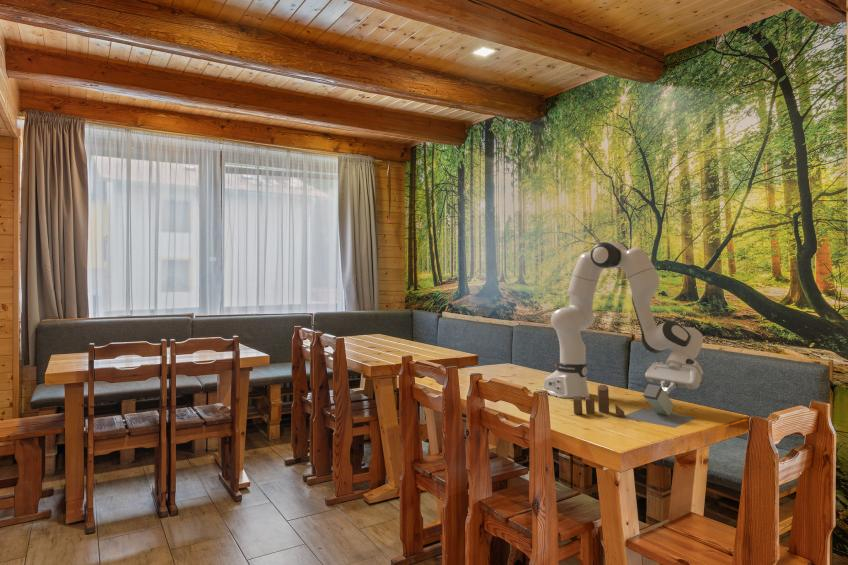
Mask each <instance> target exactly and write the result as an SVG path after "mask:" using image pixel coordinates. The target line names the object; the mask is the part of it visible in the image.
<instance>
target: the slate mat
mask: <svg viewBox="0 0 848 565" xmlns="http://www.w3.org/2000/svg"><path fill="white" fill-rule="evenodd" d="M619 418H624V419H629V420H633V421H639V422H644V423H650V424H654V425H659V426H664V427H668V428H678V427H680V426H681V425H684V424H686V423H688V422H691V421H693V420H696V419H697V418H698V417H697V416H696V417H695V416H692V415H691V416H690V415H684V414H680V413H679V414H678V413H673V412H671V413H670V415H669V416H665V415H661V414H657V413H656V412H655V411H654V409H653V408H646V407H644V408H640V409H638V410H634V411H632V412H630V413H626V414H625V416H619Z"/></svg>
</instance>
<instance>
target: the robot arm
mask: <svg viewBox="0 0 848 565" xmlns="http://www.w3.org/2000/svg"><path fill="white" fill-rule="evenodd" d="M605 269H622V271H623V272H624V274H625V276H626V278H627V280H628V283H629V286H630V290H631V301H632V306H633V309H634V312H635V316H636V319H637V322H638V325H639V326H638V327H639V328H640V332H641V342H642V344H643V347H644V348H645V349H646V350H647V351H648V352H650V353H652V354H660V353H663V352H664V351H666V350H667V349H669V350H670V353H669V355H668V358H666V361H659V360H658V361H655V362H652V364H650V366H649V368H648V369H647V370H646V372H645V374H644V377H645V379H646V380H647V381H648V382H649V383H655V384H660V386H661V387H662V389H663V390H664V392H665V393H666V394H667V395H670V393H671V391H674V390H675V389H676V388H683V389H689V390H696V389H698V388H699V386H700V384H701V381H702V376H703V374H704V371H703V369H702V367H701V365H700V363H699V362H698V361H697V360H695V358H697V356H699V353H700V351H701V349H702V345H703V342H704V335H703V334H702V333H701V331H700V330H698V329H697V328H695V327H691V326H683V325H682V324H680V323H679V322H678V321H675V320H667V321H665V322H663V323H661V324H658V325H656V321H655V318H654V316H653V313H652V309H651V302H652V300H653V298H654V296H655V294H656V293H657V291H658V289H659V286H660V278H659V275H658V273H657V270H656V268H655V266H654V265H653V262H652V260H651V259H650V258H649V256H648V255H647V253H646V252H645V250H644V249H642V248H640V247H633V248H629V247H628V246H627V245H626V244H624V243H621V242H616V241H604V242H599V243H596V244H595V245H594V246H593V247H592V249H591V251H586V252H583V253H581V254H580V256H579V257H578V259H577V262H575V266H574V269H573V271H572V275H571V279H570V281H569V286H568V289H567V291H568V295H569V305H568V306H566V307H563V306H562V307H561V308H558V309H556V310H554V312H552V314H551V316H550V324H551V326H552V328H553V329H554V330H555V332H556V334H557V339H558V343H559V362H557V363H555V364H554V367H556V369H555V371H553V372H552V373H551V374H549V375H548V376H546V377H545V378H544V381H543V387H540V388H538V390H547V391H548V392H549V394H550V395H549V396H552V397H556V396H557V398H560V397H561V398H562V399H564V398H566V399H567V398H568V399H569V398H570V399H571V398H572V399H573V396H581V397H582V398H585V396H590V392H589V389H588V381H587V374H588V364H587V347H586V344H585V343H584V341H583V338H582V334H581V331H585V330H587V329H589V328H591V326H593V324H594V323H595V315H594V312H593V308H594V307H593V305H594V298H595V297H594V296H595V293H596V289H597V286H598V282H599V279H600V275H601V272H603V270H605ZM667 385H668V387H667ZM590 397H591V396H590ZM561 398H560V399H561Z"/></svg>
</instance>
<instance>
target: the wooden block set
mask: <svg viewBox="0 0 848 565" xmlns="http://www.w3.org/2000/svg"><path fill="white" fill-rule="evenodd" d="M609 398H610V396H609V386H607V385H605V384H600V385H598V386H597V405H598V406H597V408H598V412H599V413H601V414H608V413H609V412H610V399H609ZM584 399H585V412H586V414H587V415H593V414H594V415H595V413H596V411H595V410H596V409H595V406H596V405H595V399H594V398H593V397H592V396H585V397H584ZM572 400H573V401H572V402H573V403H572V404H573V413H574V415H583V399H582V397H581V396H573V398H572ZM614 409H615V416H616V417H620V416H625V415H626V414H625V410H623V409H621V407H620V406H618V404H616V403H615V408H614Z"/></svg>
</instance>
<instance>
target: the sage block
mask: <svg viewBox="0 0 848 565" xmlns="http://www.w3.org/2000/svg"><path fill="white" fill-rule="evenodd" d="M642 396H643V397H644V399H645V400H646V401H647V403H648V404H649V406H650V407H651V409H652V410H654V411H655V412H656V413H657V414H661V415H665V416H669V415H670V413H672V411H673V409H674V406H675V404H674V403H673V401H672V400H671V399H670V397H669V396H668V394H666V393H665V392H664V390H663V389H662V387H661V385H654V384H650V383H648V384H647V386H646V388H645V390H644V392H643V394H642Z"/></svg>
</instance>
